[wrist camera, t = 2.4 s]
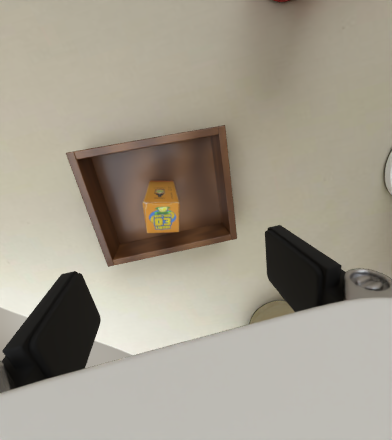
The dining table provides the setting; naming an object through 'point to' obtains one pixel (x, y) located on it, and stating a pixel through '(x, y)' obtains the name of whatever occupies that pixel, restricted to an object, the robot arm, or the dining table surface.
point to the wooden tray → (137, 187)
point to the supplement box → (161, 207)
